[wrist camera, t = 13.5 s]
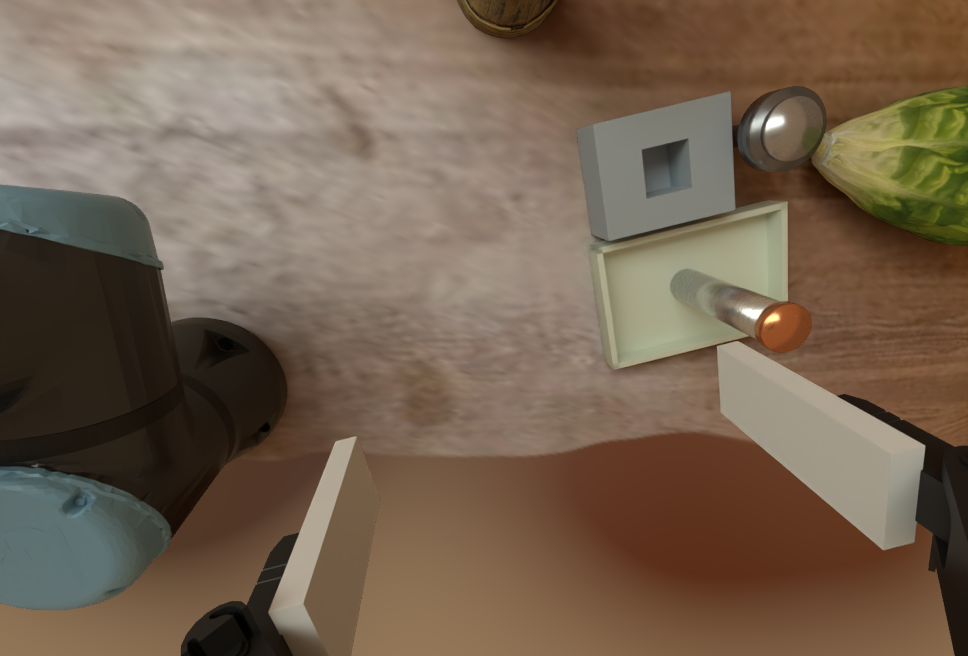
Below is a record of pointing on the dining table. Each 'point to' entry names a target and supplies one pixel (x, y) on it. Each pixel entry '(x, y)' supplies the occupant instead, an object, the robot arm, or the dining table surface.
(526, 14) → the wooden mug
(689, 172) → the block
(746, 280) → the tray
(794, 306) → the pin
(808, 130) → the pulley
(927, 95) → the lettuce
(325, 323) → the dining table surface
